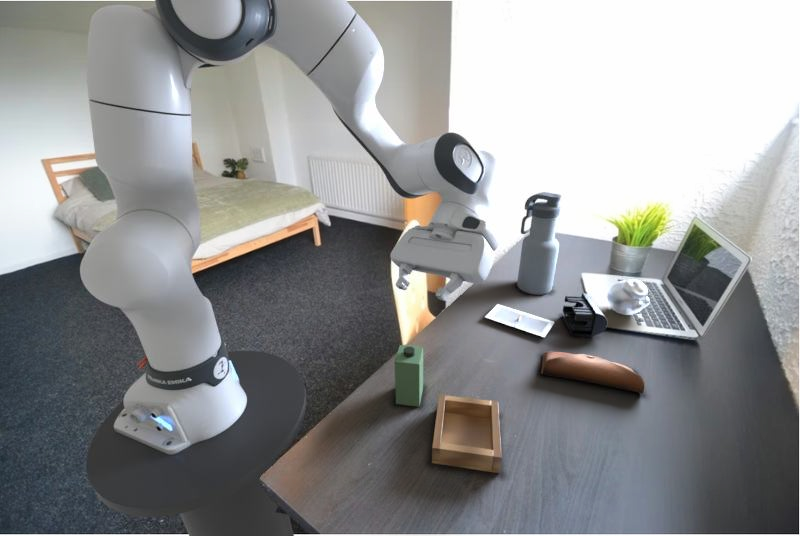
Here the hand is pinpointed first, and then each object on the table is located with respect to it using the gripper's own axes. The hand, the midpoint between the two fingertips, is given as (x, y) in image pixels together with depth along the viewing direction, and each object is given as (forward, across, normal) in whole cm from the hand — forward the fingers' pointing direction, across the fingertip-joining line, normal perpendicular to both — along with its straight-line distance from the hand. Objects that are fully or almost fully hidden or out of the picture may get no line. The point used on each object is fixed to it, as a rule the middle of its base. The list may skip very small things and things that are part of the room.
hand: (419, 293), depth 65 cm
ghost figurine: (-28, +18, +54) cm, 64 cm away
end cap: (-18, +12, +45) cm, 50 cm away
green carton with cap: (+16, -3, +14) cm, 22 cm away
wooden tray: (+18, +11, +15) cm, 26 cm away
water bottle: (-28, -5, +50) cm, 58 cm away
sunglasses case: (-5, +20, +35) cm, 41 cm away
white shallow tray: (-12, +1, +38) cm, 40 cm away
